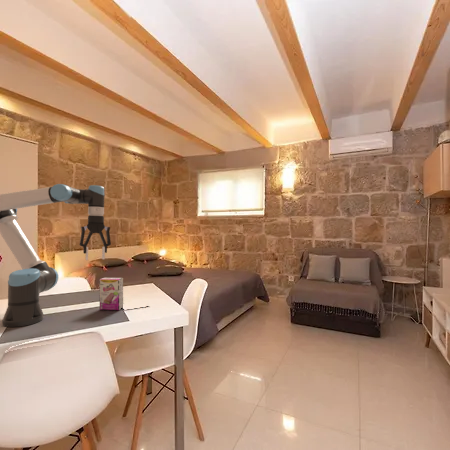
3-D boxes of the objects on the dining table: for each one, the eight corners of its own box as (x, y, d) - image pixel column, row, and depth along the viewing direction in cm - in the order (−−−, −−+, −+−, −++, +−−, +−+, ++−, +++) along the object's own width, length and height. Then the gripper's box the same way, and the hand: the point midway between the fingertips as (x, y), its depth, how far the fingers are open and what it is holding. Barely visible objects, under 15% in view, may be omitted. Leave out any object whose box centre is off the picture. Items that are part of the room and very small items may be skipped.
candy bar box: (99, 310, 144) (98, 279, 144) (104, 307, 149) (103, 277, 149) (119, 310, 143) (118, 279, 143) (123, 307, 148) (123, 277, 148)
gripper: (75, 214, 133) (73, 261, 133) (118, 215, 145) (117, 259, 144) (73, 214, 140) (72, 259, 139) (114, 216, 151) (114, 257, 150)
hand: (95, 259), depth 142 cm, fingers open, 7 cm apart
